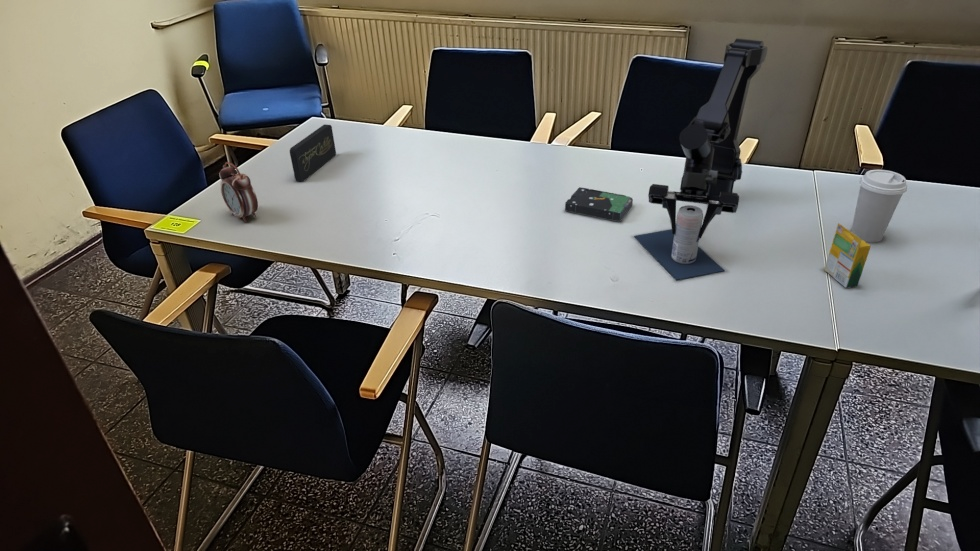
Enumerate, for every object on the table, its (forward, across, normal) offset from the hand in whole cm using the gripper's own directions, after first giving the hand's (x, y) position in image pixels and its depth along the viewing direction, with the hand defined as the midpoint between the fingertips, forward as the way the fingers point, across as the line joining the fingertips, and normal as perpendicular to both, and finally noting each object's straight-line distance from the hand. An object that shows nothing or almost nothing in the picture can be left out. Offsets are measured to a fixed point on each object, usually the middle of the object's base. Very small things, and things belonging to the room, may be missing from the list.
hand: (686, 235), depth 142 cm
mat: (+2, -2, +8) cm, 8 cm away
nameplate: (-12, -108, +22) cm, 111 cm away
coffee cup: (-12, +40, +22) cm, 47 cm away
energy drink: (+4, 0, +6) cm, 7 cm away
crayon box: (+3, +32, +7) cm, 33 cm away
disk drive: (-9, -23, +20) cm, 32 cm away
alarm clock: (+11, -110, -1) cm, 110 cm away
